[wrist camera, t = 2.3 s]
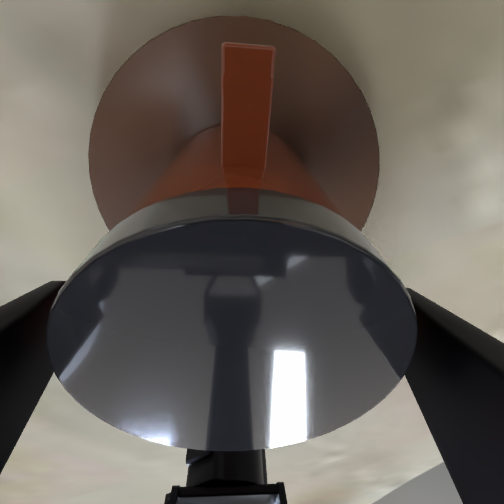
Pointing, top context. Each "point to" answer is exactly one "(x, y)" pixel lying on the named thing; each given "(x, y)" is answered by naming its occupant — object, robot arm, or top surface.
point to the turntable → (209, 113)
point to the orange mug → (233, 295)
